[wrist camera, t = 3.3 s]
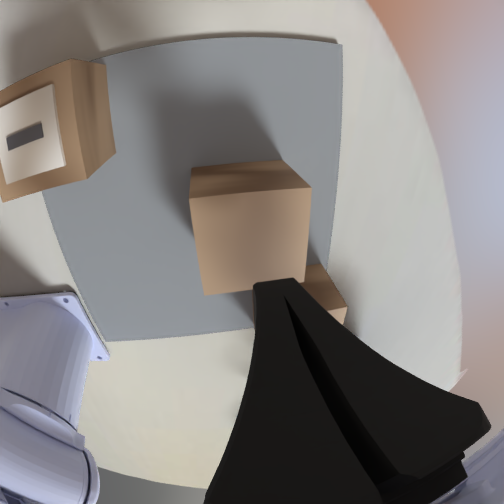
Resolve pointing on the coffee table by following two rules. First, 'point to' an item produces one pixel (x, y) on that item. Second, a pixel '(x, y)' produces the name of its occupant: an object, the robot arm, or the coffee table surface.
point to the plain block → (249, 224)
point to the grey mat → (179, 173)
